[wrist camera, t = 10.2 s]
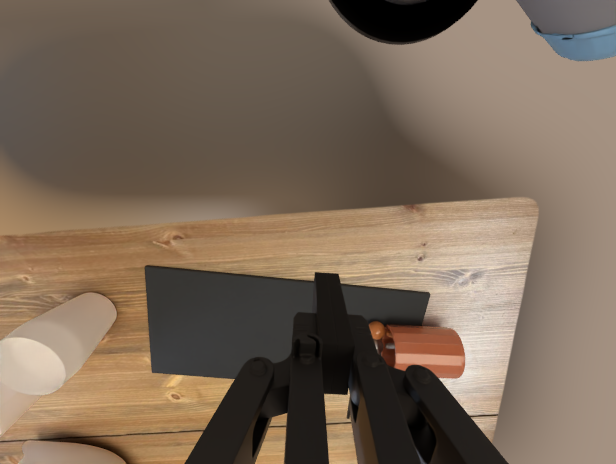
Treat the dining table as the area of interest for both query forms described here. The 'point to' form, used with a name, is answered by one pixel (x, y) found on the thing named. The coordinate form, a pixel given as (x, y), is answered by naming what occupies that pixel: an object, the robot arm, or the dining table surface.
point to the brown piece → (378, 330)
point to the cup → (54, 344)
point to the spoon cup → (425, 349)
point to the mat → (246, 317)
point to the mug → (13, 406)
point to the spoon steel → (380, 345)
